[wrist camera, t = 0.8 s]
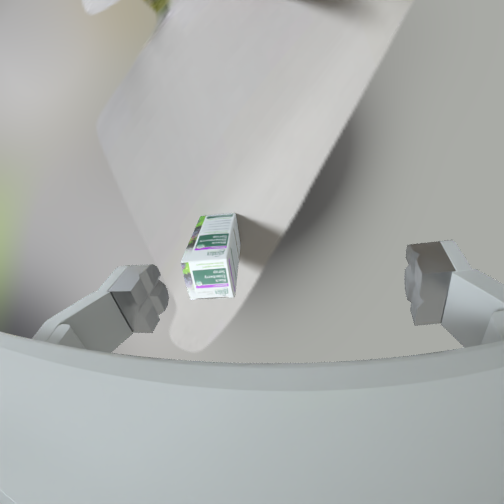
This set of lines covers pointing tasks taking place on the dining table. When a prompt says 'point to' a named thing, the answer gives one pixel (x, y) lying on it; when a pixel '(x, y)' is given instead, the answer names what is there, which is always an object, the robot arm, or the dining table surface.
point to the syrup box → (212, 258)
